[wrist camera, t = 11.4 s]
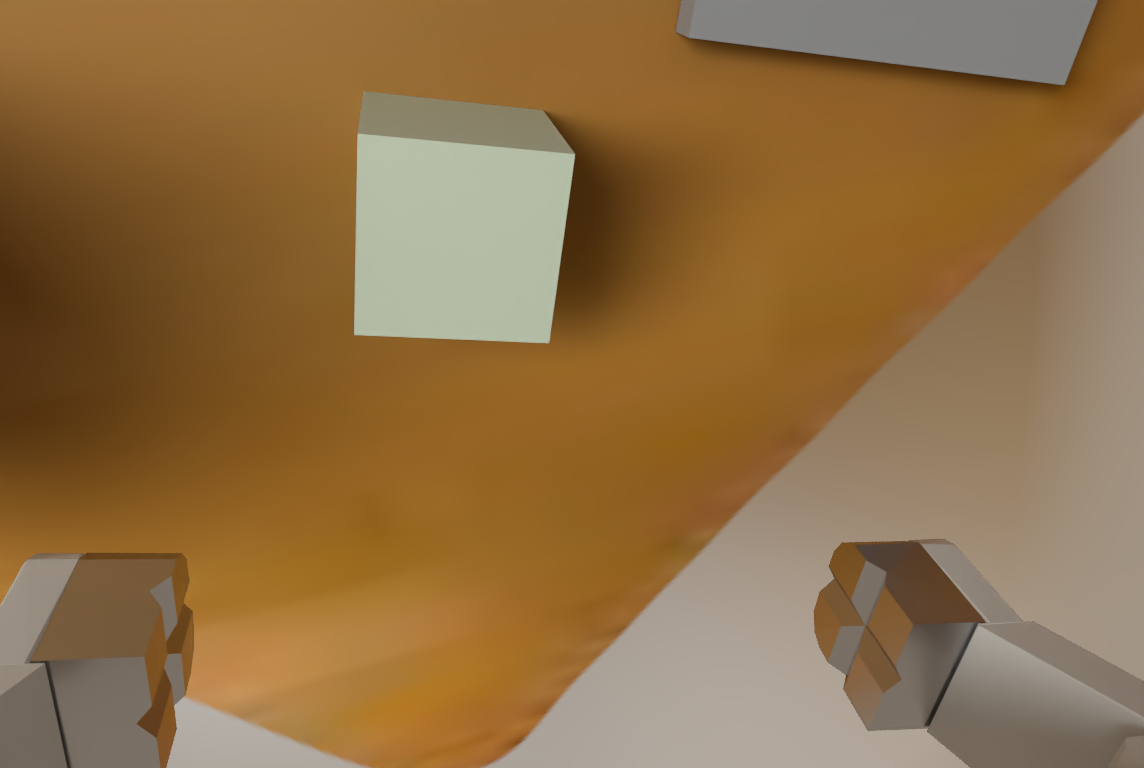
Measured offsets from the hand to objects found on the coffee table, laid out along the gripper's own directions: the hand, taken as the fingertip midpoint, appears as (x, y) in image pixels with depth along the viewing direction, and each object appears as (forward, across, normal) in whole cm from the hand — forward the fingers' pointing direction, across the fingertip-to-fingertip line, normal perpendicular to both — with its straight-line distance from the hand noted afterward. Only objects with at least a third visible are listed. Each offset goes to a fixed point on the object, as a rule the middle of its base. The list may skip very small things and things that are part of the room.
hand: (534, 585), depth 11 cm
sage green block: (+17, 0, 0) cm, 17 cm away
